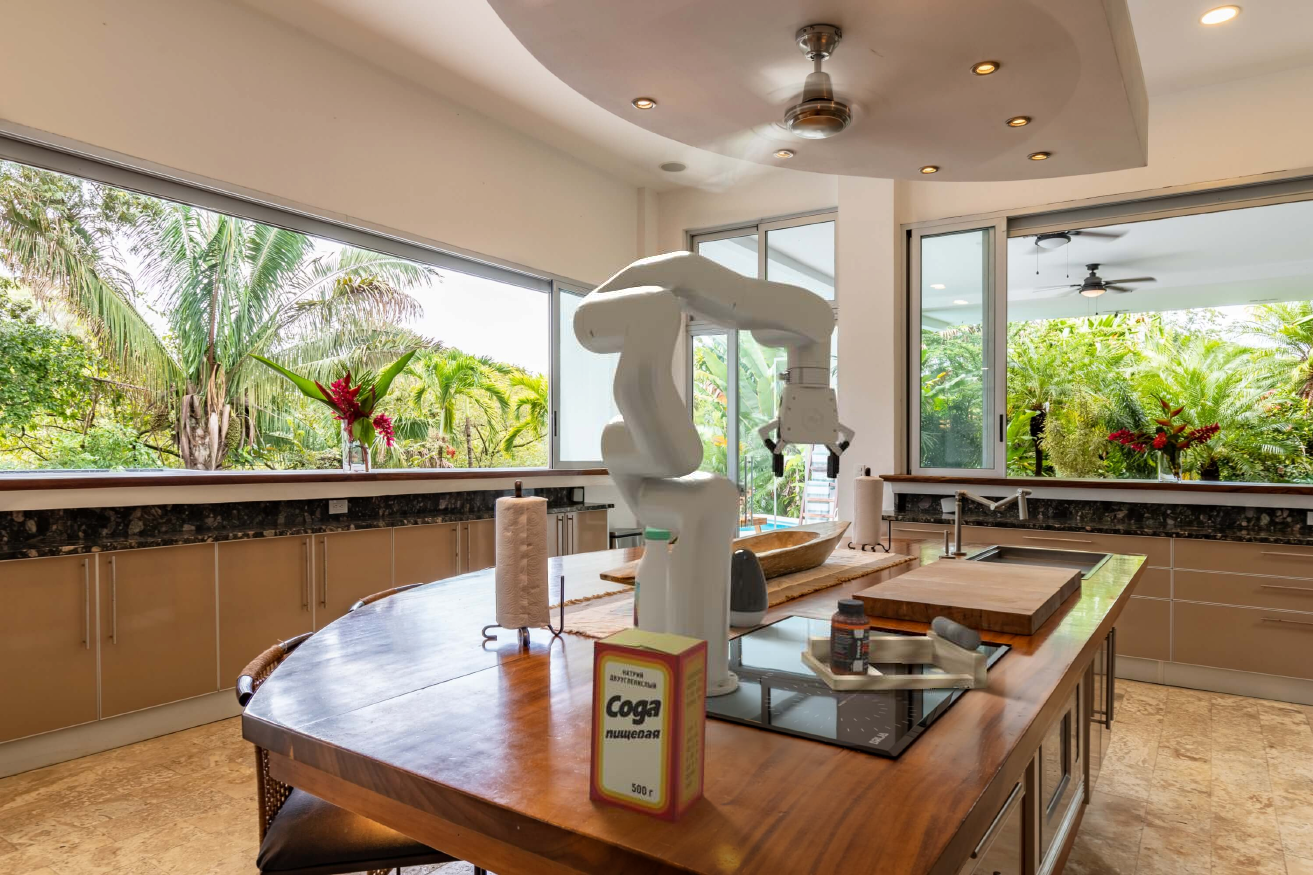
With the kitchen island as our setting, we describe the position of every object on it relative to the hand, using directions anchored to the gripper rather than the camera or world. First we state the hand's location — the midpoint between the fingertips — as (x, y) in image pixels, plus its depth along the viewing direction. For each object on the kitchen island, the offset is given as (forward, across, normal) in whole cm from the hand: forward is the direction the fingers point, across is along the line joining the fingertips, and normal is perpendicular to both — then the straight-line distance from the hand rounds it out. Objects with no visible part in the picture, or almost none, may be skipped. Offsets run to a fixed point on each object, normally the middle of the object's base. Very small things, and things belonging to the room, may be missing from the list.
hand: (805, 477), depth 134 cm
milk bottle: (+31, -25, +7) cm, 40 cm away
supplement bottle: (+30, +3, -14) cm, 34 cm away
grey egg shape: (+31, -6, +19) cm, 36 cm away
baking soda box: (+31, -33, -53) cm, 70 cm away
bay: (+30, +10, -14) cm, 35 cm away
